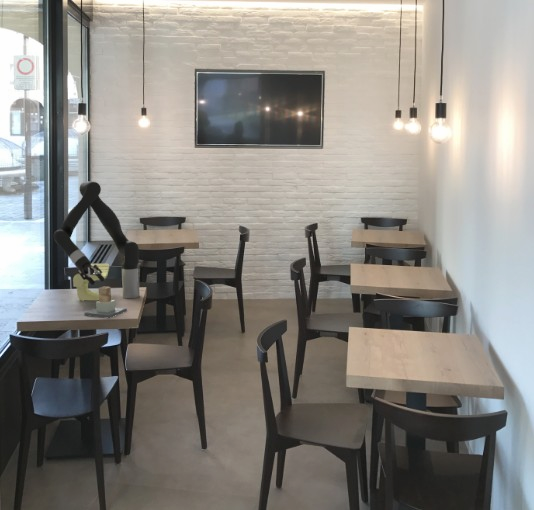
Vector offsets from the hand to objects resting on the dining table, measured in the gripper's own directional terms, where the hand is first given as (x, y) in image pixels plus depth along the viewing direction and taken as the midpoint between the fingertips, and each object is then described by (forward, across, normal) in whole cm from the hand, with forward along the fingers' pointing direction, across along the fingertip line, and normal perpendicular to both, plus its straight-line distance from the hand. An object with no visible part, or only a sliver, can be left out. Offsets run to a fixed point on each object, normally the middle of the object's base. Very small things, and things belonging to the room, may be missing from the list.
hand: (98, 282), depth 384 cm
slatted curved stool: (-5, +27, +29) cm, 40 cm away
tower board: (+14, 0, +9) cm, 17 cm away
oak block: (+10, 0, +4) cm, 11 cm away
